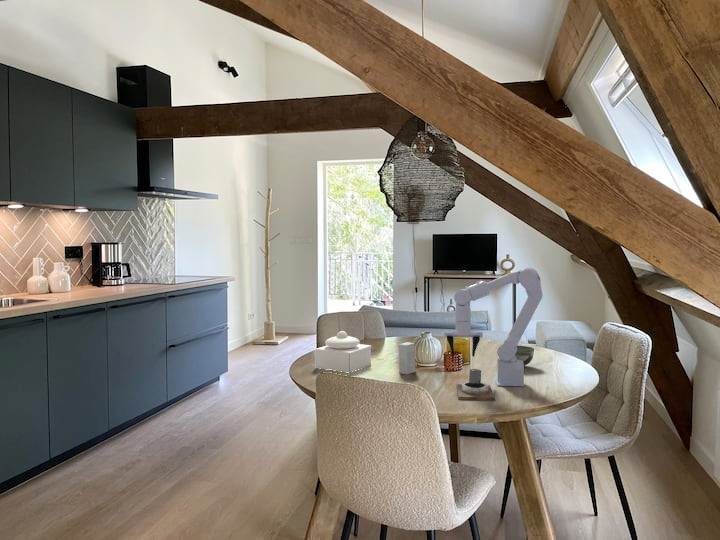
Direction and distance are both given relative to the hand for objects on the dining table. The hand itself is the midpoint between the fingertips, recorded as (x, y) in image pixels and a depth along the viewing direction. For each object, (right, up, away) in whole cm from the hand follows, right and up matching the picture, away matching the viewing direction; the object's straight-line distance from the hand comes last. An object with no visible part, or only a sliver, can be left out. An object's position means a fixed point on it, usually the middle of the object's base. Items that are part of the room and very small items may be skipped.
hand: (463, 355), depth 206 cm
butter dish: (-47, -9, +25) cm, 54 cm away
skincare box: (-20, -9, +13) cm, 26 cm away
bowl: (+27, -8, +21) cm, 35 cm away
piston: (+1, -9, -18) cm, 20 cm away
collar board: (+1, -10, -18) cm, 21 cm away
